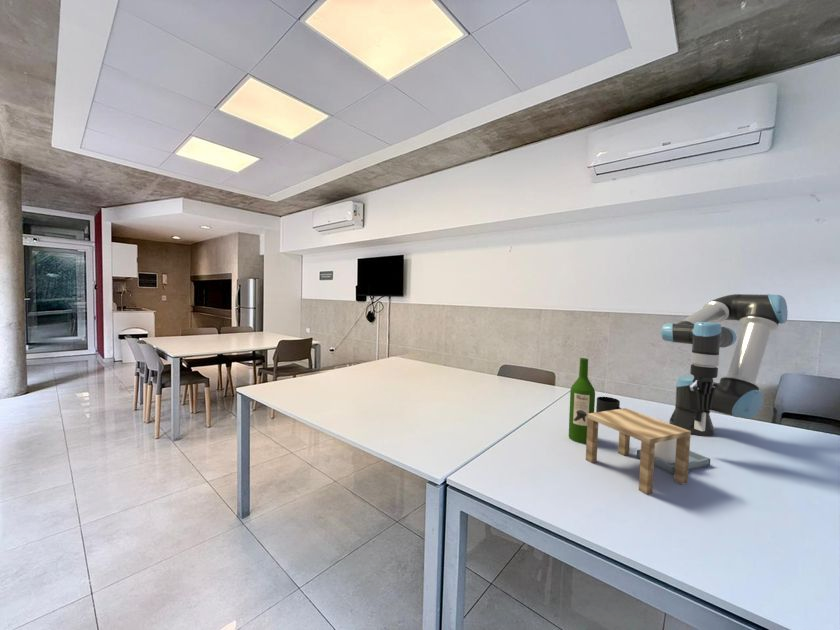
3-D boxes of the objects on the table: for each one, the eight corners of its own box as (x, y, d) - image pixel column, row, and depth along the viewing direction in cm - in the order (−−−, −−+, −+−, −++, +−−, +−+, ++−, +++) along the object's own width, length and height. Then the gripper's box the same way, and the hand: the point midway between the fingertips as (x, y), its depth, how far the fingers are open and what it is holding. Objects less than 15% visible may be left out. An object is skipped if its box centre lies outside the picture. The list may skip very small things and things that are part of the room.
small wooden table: (622, 451, 126) (625, 408, 125) (687, 483, 106) (690, 431, 105) (585, 459, 120) (587, 413, 119) (646, 494, 99) (649, 439, 98)
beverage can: (669, 467, 114) (671, 432, 113) (649, 458, 119) (651, 425, 119) (679, 463, 117) (681, 428, 116) (659, 455, 122) (661, 422, 121)
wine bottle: (568, 441, 135) (572, 359, 133) (568, 432, 143) (571, 355, 141) (594, 445, 131) (597, 361, 129) (591, 436, 140) (595, 357, 138)
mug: (616, 425, 151) (617, 405, 151) (591, 416, 162) (592, 398, 161) (628, 422, 156) (629, 402, 155) (603, 413, 166) (604, 395, 166)
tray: (670, 449, 129) (670, 442, 128) (709, 465, 117) (710, 458, 116) (636, 456, 122) (636, 450, 122) (674, 475, 110) (674, 467, 110)
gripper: (704, 362, 128) (699, 424, 129) (680, 364, 123) (676, 427, 125) (728, 366, 121) (722, 431, 122) (704, 368, 116) (699, 436, 118)
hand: (699, 429), depth 124 cm, fingers closed
